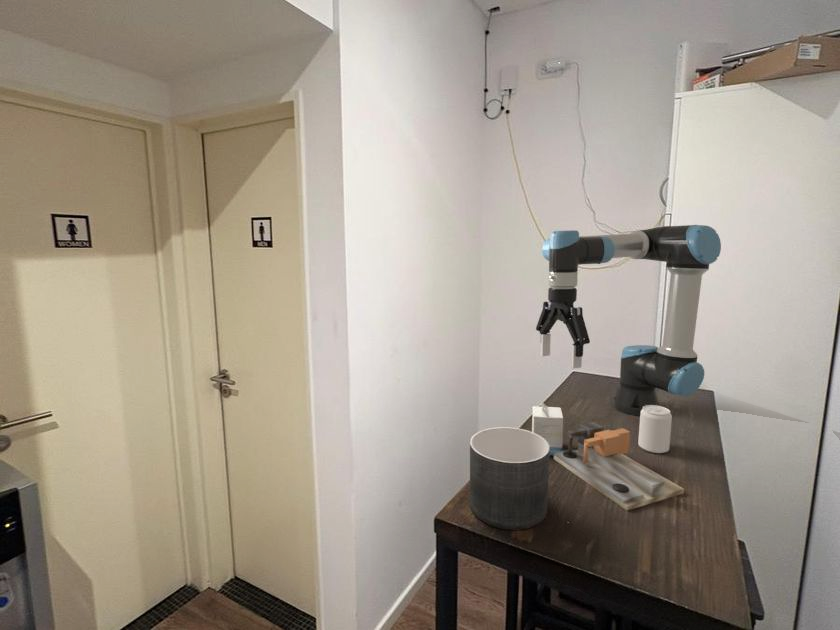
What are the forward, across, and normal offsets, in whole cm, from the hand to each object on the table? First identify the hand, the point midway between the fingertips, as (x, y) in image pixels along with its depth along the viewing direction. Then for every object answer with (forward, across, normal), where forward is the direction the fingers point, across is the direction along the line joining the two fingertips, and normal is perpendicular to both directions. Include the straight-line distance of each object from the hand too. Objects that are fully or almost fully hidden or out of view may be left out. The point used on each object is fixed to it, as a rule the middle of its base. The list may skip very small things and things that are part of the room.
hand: (560, 361), depth 126 cm
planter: (+27, +19, -28) cm, 43 cm away
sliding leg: (+24, +13, +5) cm, 28 cm away
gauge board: (+27, +17, +4) cm, 32 cm away
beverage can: (+27, +10, +26) cm, 39 cm away
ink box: (+27, -2, -3) cm, 27 cm away
